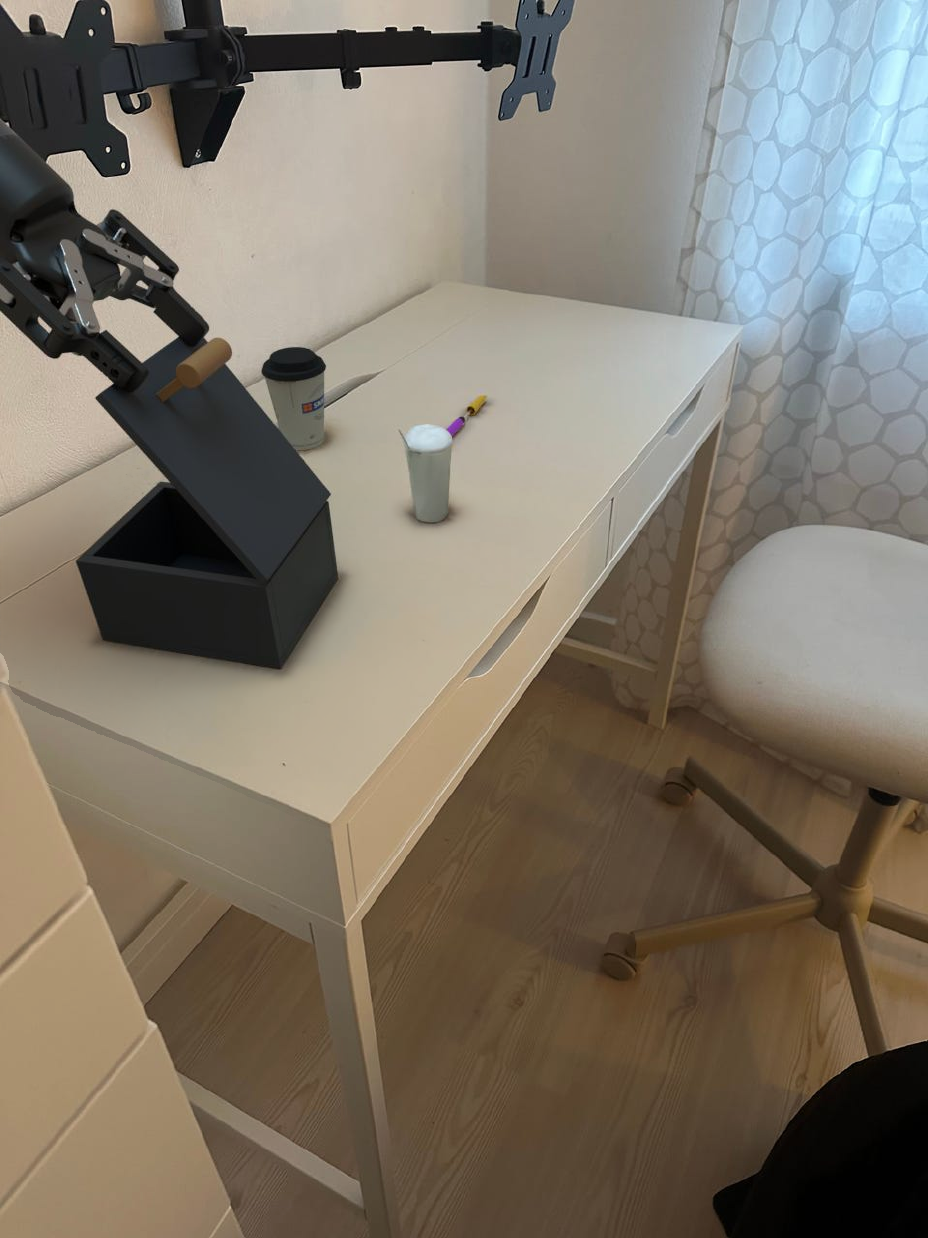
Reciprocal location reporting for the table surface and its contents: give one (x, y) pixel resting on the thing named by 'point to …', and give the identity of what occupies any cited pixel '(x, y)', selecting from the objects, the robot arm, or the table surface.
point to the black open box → (202, 585)
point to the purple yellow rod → (470, 410)
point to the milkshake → (429, 470)
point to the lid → (220, 451)
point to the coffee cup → (297, 395)
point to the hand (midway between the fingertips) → (173, 359)
